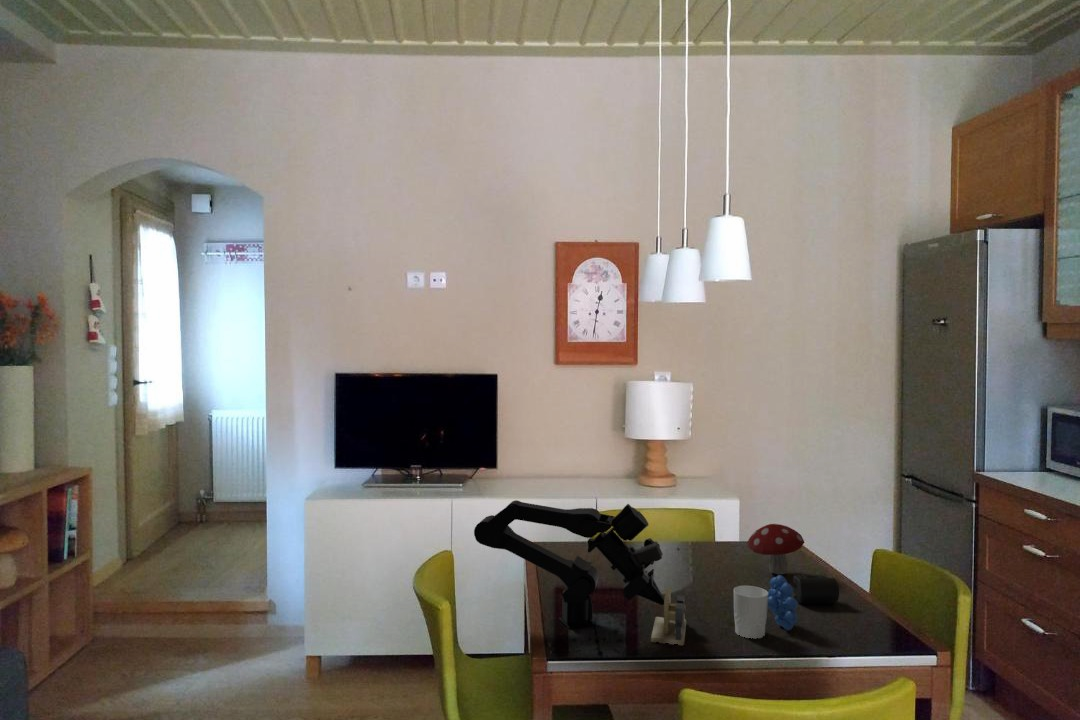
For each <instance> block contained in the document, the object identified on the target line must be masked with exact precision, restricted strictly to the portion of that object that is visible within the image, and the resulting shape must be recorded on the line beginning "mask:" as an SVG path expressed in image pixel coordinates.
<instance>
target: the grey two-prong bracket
mask: <svg viewBox="0 0 1080 720" xmlns="http://www.w3.org/2000/svg"><path fill="white" fill-rule="evenodd" d="M675 604H676V613H675V628H674V636H675V640H681V637H682V635H683V625H684V622H683V612H684V605H685V595H677V597H676V603H675ZM685 615H686V613H685V614H684V620H686V619H685Z"/></svg>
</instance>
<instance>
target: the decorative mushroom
mask: <svg viewBox="0 0 1080 720" xmlns="http://www.w3.org/2000/svg"><path fill="white" fill-rule="evenodd" d="M804 544H805V540H804V538H803V536H802V534H800V532H798V531H797V530H795V529H793V528H792V527H790V526H787V525H783V524H779V523H769V524H767V525H763V526H761V527H760V528H758V529H756V530H755V531H754V532H753V533H752V534H751V535H750V536H749V538H748V540H747V546H748V549H749V550H750V551H752V552H753V553H754V554H758V555H759V554H760V555H762V556H770V559H769V568H768V569H769V570H768V571H769V572H770V573H772V574H775V575H785V574H787V573H788V561H787V557H786V555H787V554H791V553H794V552H797V551H798V550H800V549H801V548H802V547H803V546H804Z"/></svg>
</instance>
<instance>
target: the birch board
mask: <svg viewBox="0 0 1080 720" xmlns="http://www.w3.org/2000/svg"><path fill="white" fill-rule="evenodd" d="M686 627H687V619H684V625H683V635H682V637H681V640H675V636H674V628H675V621H671V620H670V624H669V630H668V634H665V633H664V616H663V617H662V616H655V618H654V623H653V628H652V632H651V635H650V636H651V637H650V642H651V643H656V642H659V644H665V643H669V644H668V645H674V644H678V645H677V646H683V645H684V646H685V638H686V629H687V628H686Z"/></svg>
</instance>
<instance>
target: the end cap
mask: <svg viewBox="0 0 1080 720" xmlns="http://www.w3.org/2000/svg"><path fill="white" fill-rule="evenodd" d="M792 583H793V584H795V585H796V586H792V588H793V594H794V595H793V596H792V597H793V598H795V600H796V601H797V602H798V604H811V605H812V604H817V605H820V604H821V605H822V604H825V605H827V604H829V605H831V604H832V605H833V604H835V603H836V602H838V600H839V597H840V586H839V584H838V581H837V580H836V578H835V577H827V576H826V575H824V574H822V575H820V574H819V575H818V574H816V575H815V576H814V577H808V576H807V575H804V574H802V575H801V574H800V575H799V574H796V575H793V576H792Z"/></svg>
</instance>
